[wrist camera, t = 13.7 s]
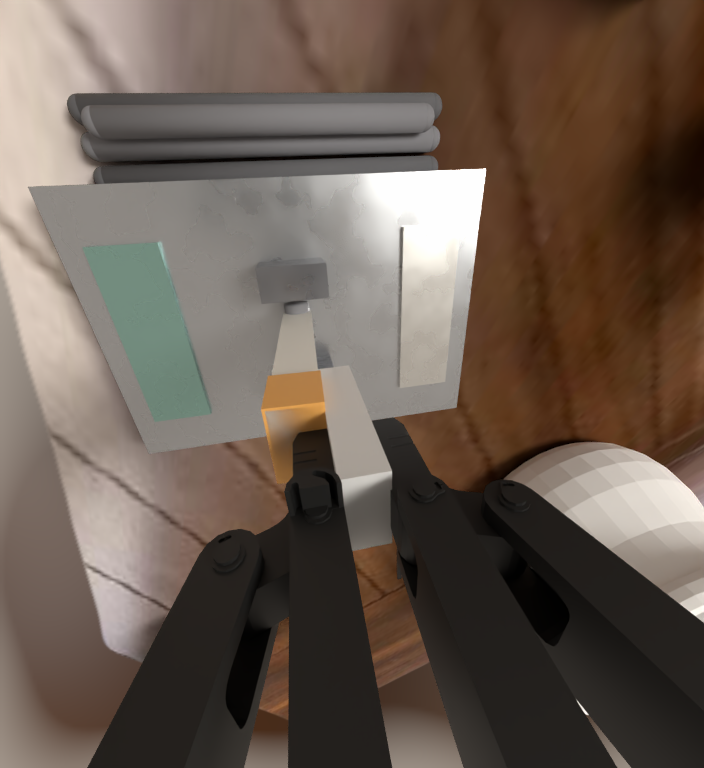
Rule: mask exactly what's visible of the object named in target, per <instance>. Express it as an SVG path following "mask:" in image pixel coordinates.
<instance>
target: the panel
mask: <svg viewBox="0 0 704 768" xmlns="http://www.w3.org/2000/svg"><path fill="white" fill-rule="evenodd" d="M485 171H486V169H472V170H446V171H421V172H395V173H369V174H344V175H318V176H292V177H267V178H241V179H215V180H190V181H164V182H139V183H113V184H87V185H62V186H36V187H28V188H29V190H30V193H31V195H32V197H33V199H34V201H35V204H36V206H37V208H38V210H39V212H40V215H41V217H42V219H43V221H44V223H45V226H46V228H47V230H48V232H49V234H50V237H51V239H52V241H53V243H54V246H55V248H56V250H57V252H58V254H59V257H60V259H61V261H62V263H63V265H64V268H65V270H66V272H67V274H68V276H69V279H70V281H71V283H72V285H73V287H74V290H75V292H76V294H77V296H78V298H79V301H80V303H81V305H82V307H83V309H84V312H85V314H86V316H87V318H88V321H89V323H90V325H91V327H92V329H93V332H94V334H95V336H96V338H97V340H98V343H99V345H100V347H101V349H102V351H103V354H104V356H105V358H106V360H107V362H108V365H109V367H110V369H111V371H112V373H113V376H114V378H115V380H116V382H117V384H118V387H119V389H120V391H121V393H122V396H123V398H124V400H125V402H126V404H127V407H128V409H129V411H130V413H131V415H132V418H133V420H134V422H135V424H136V426H137V429H138V431H139V433H140V435H141V437H142V440H143V442H144V444H145V446H146V448H147V451H148V453H149V454H152V453H159V452H165V451H172V450H179V449H185V448H192V447H198V446H205V445H212V444H218V443H225V442H232V441H238V440H245V439H251V438H258V437H265V436H267V435H266V430H265V426H264V421H263V416H262V412H261V407H262V402H263V397H264V392H265V388H266V383H267V378H268V376H272V370H273V365H274V360H275V354H276V349H277V344H278V338H279V333H280V328H281V322H282V317H283V312H285V310H284V304H285V303H287V302H291V301H308V302H309V309H310V310H311V313H312V322H313V331H314V340H315V349H316V357H317V366H318V369H323V368H331V367H339V366H347V365H349V367H350V369H351V372H352V374H353V377H354V379H355V382H356V384H357V387H358V389H359V391H360V394H361V396H362V399H363V401H364V404H365V406H366V409H367V411H368V413H369V416H370V418H371V420H377V419H384V418H391V417H397V416H404V415H410V414H417V413H424V412H430V411H437V410H444V409H450V408H456V407H457V399H458V390H459V382H460V374H461V366H462V358H463V350H464V342H465V334H466V326H467V317H468V309H469V301H470V293H471V285H472V277H473V269H474V261H475V253H476V244H477V236H478V228H479V220H480V212H481V204H482V196H483V188H484V180H485Z"/></svg>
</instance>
